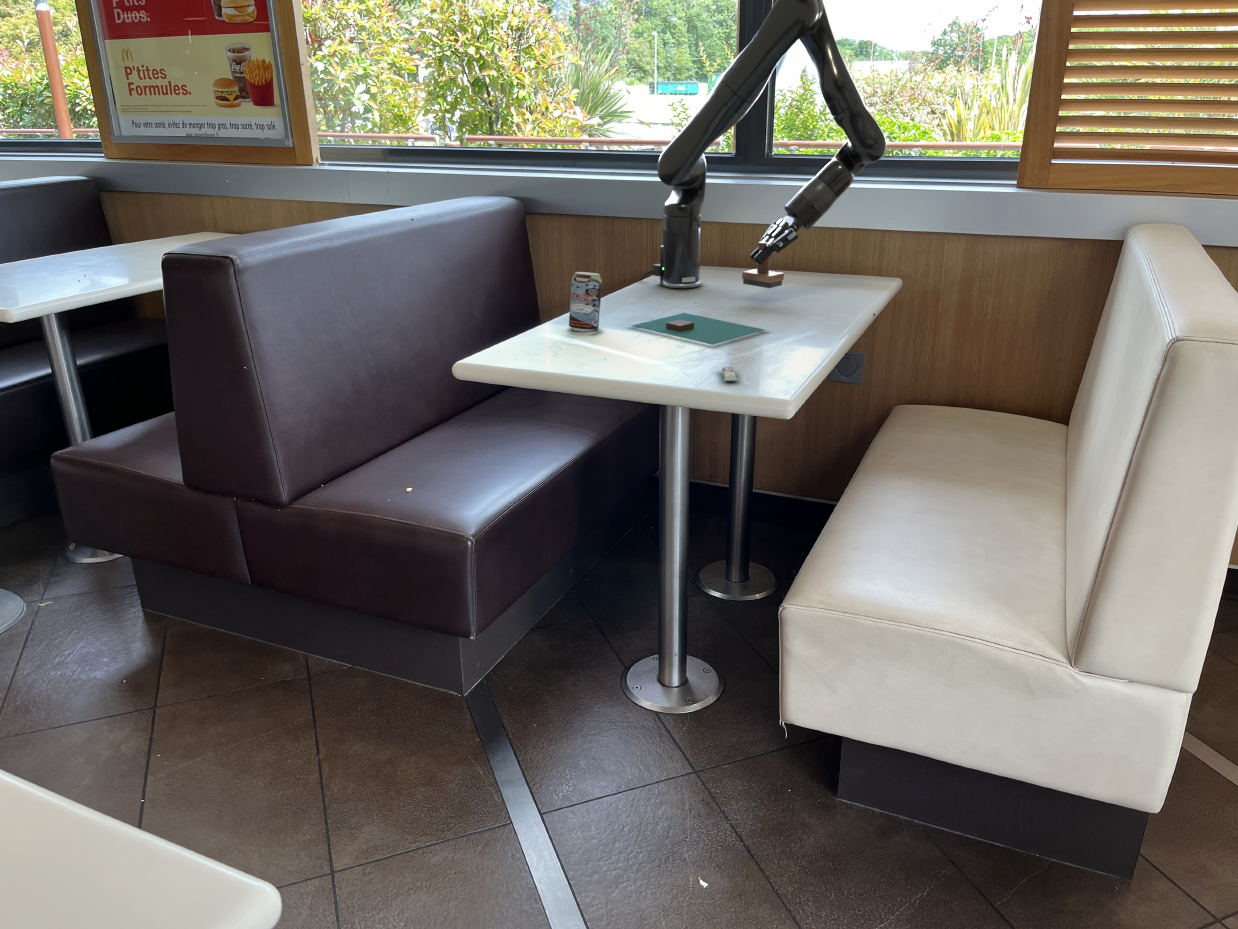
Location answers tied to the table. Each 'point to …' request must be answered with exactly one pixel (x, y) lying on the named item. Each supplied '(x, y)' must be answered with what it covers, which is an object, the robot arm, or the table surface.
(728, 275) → the table surface
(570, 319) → the beverage can
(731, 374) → the granola bar
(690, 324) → the brown square block
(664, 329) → the mat
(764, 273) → the brush
